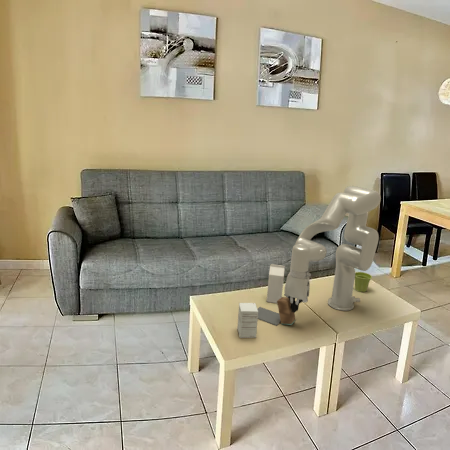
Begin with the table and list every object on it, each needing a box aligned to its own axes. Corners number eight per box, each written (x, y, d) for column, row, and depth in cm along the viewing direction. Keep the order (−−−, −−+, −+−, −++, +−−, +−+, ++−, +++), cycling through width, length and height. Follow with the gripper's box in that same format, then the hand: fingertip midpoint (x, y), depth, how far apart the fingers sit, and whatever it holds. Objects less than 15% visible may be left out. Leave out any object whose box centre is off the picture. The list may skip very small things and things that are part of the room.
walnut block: (295, 320, 175) (291, 297, 174) (291, 325, 171) (287, 301, 170) (285, 319, 178) (281, 297, 177) (281, 324, 174) (277, 301, 173)
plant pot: (348, 289, 213) (350, 274, 211) (357, 284, 220) (359, 270, 217) (364, 295, 207) (366, 280, 204) (372, 290, 213) (375, 276, 211)
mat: (286, 316, 181) (286, 315, 181) (276, 325, 173) (276, 324, 172) (259, 307, 188) (259, 306, 188) (249, 316, 180) (249, 315, 180)
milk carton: (280, 304, 193) (284, 268, 187) (266, 302, 194) (269, 266, 189) (281, 297, 199) (285, 263, 194) (267, 295, 201) (271, 261, 195)
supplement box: (236, 328, 169) (238, 302, 165) (253, 328, 170) (255, 302, 166) (238, 338, 162) (240, 311, 158) (256, 338, 163) (258, 311, 159)
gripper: (318, 274, 166) (313, 312, 171) (286, 265, 173) (282, 302, 179) (312, 280, 160) (307, 319, 165) (279, 271, 167) (275, 309, 172)
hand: (294, 311), depth 172 cm, fingers closed
